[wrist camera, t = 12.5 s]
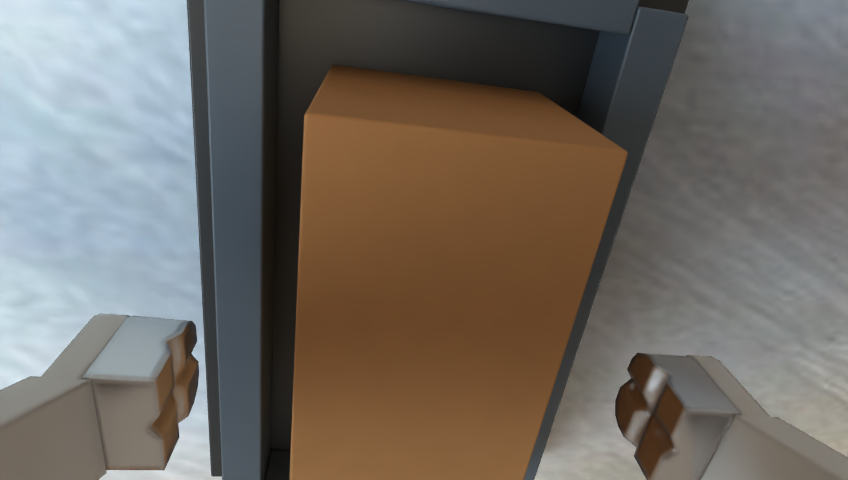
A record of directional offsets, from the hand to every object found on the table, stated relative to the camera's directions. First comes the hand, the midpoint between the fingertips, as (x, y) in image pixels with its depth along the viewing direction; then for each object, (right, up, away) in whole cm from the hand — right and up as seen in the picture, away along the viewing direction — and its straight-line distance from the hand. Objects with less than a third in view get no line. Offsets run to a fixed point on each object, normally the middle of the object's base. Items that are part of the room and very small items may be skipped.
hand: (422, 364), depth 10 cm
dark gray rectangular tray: (-1, +2, +4) cm, 5 cm away
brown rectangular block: (0, +1, +3) cm, 4 cm away
